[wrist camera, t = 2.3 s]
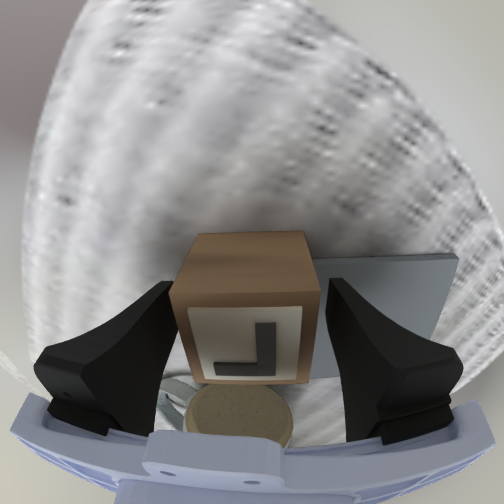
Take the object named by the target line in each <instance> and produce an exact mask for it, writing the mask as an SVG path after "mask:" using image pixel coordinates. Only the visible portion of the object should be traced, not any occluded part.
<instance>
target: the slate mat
mask: <svg viewBox="0 0 504 504" xmlns="http://www.w3.org/2000/svg"><path fill="white" fill-rule="evenodd" d="M312 262H313V265H314V268H315V272H316V275H317V278H318V282H319V285H320V289H321V296H320V305H319V314H318V322H317V330H316V337H315V345H314V352H313V358H312V365H311V371H310V377H309V379H315V378H328V377H338V376H340V373H339V369H338V365H337V361H336V358H335V354H334V351H333V348H332V344H331V341H330V337H329V334H328V329H327V323H326V316H325V309H326V302H327V294H328V285H329V278H343V279H344V280H345V281H346V282H348V283H349V284H350V285H351V286H352V287H353V288H354V289H355V290H356V291H357V292H358V293H359V294H360V295H361V296H362V297H363V298H364V299H366V300H367V301H368V302H369V303H370V304H371V305H373V306H374V307H375V308H376V309H377V310H379V311H380V312H381V313H383V314H384V315H385V316H387V317H388V318H390V319H391V320H393V321H394V322H396V323H397V324H399V325H400V326H402V327H404V328H406V329H407V330H409V331H411V332H413V333H415V334H417V335H419V336H421V337H423V338H426V339H428V340H430V338H431V335H432V333H433V331H434V329H435V326H436V324H437V322H438V319H439V317H440V314H441V312H442V309H443V306H444V304H445V301H446V298H447V296H448V293H449V290H450V287H451V284H452V281H453V278H454V275H455V272H456V268H457V265H458V262H459V258H458V257H457V256H456V255H455V254H437V255H411V256H384V257H353V258H321V259H312Z"/></svg>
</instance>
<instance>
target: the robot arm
mask: <svg viewBox="0 0 504 504" xmlns="http://www.w3.org/2000/svg"><path fill="white" fill-rule="evenodd" d="M173 283H174V282H173V281H161V282H159V283H158V284H156V285H155V286H154V287H153V288H151V289H150V290H149V291H148V292H146V293H145V294H144V295H143V296H142V297H140V298H139V299H138V300H137V301H135V302H134V303H133V304H131V305H130V306H129V307H127V308H126V309H125V310H123V311H122V312H121V313H119V314H118V315H117V316H115V317H114V318H112V319H110V320H109V321H107V322H106V323H104V324H102V325H100V326H98V327H97V328H95V329H93V330H91V331H89V332H87V333H85V334H82V335H80V336H78V337H75V338H73V339H70V340H67V341H64V342H61V343H58V344H54V345H51V346H47V347H45V349H44V350H43V352H42V353H41V355H40V356H39V358H38V360H37V361H36V363H35V364H34V371H35V374H36V376H37V378H38V379H39V380H40V382H41V383H42V384H43V386H44V387H45V388H46V390H47V391H48V392H49V393H50V394H51V395H52V397H53V399H52V401H51V403H50V402H49V401H48V400H47V399H45V398H43V397H40V396H38V395H36V394H33V393H29V395H28V397H27V398H26V400H25V402H24V403H23V405H22V407H21V409H20V411H19V413H18V415H17V417H16V418H15V420H14V422H13V424H12V426H11V429H10V432H11V433H12V434H13V435H14V436H15V437H17V439H19V440H20V441H21V442H22V443H24V444H25V445H26V446H27V447H28V448H30V449H31V450H32V451H33V452H35V453H36V454H37V455H39V456H40V457H41V458H43V459H45V460H47V461H48V462H50V463H52V464H55V465H56V466H58V467H60V468H62V469H64V470H66V471H68V472H70V473H72V474H74V475H76V476H78V477H80V478H82V479H84V480H86V481H88V482H91V483H93V484H95V485H98V486H100V487H102V488H105V489H107V490H110V491H113V492H115V493H117V494H116V498H115V502H114V504H376V503H379V502H383V501H386V500H390V499H393V498H396V497H399V496H402V495H405V494H407V493H410V492H413V491H415V490H418V489H421V488H423V487H425V486H428V485H430V484H433V483H435V482H437V481H440V480H442V479H444V478H446V477H448V476H451V475H453V474H455V473H457V472H459V471H461V470H463V469H465V468H466V467H468V466H469V465H470V464H471V463H473V462H475V461H476V460H477V459H479V458H480V457H481V456H482V455H484V454H485V453H486V452H488V451H489V450H490V449H491V448H492V447H494V446H495V444H496V442H495V439H494V437H493V434H492V432H491V429H490V427H489V425H488V422H487V420H486V417H485V415H484V413H483V410H482V408H481V406H480V404H479V402H478V400H477V399H473V400H471V401H469V402H466V403H463V404H461V405H458V406H457V407H455V408H454V409H452V410H451V409H450V406H449V404H450V403H451V398H450V395H449V393H450V392H451V390H452V389H453V388H454V386H455V385H456V383H457V382H458V380H459V379H460V377H461V375H462V372H463V364H462V362H461V360H460V358H459V357H458V355H457V353H456V351H455V350H454V348H451V347H448V346H445V345H442V344H439V343H435V342H433V341H430V340H428V339H426V338H423V337H421V336H419V335H417V334H415V333H413V332H411V331H409V330H407V329H406V328H404V327H402V326H400V325H399V324H397V323H396V322H394V321H393V320H391V319H390V318H388V317H387V316H385V315H384V314H383V313H381V312H380V311H379V310H377V309H376V308H375V307H374V306H373V305H371V304H370V303H369V302H368V301H367V300H366V299H364V298H363V297H362V296H361V295H360V294H359V293H358V292H357V291H356V290H355V289H354V288H353V287H352V286H351V285H350V284H349V283H348V282H346V281H345V280H344V279H343V278H329V285H328V294H327V302H326V309H325V316H326V323H327V329H328V334H329V337H330V341H331V344H332V348H333V351H334V354H335V358H336V361H337V365H338V369H339V373H340V378H341V385H342V392H343V401H344V410H345V423H346V443H340V444H332V445H323V446H313V447H300V448H282V446H281V445H280V444H279V443H278V442H275V441H272V440H269V439H266V438H258V437H249V436H225V435H211V434H200V433H191V432H183V431H175V430H157V431H155V432H154V422H155V414H156V407H157V401H158V395H159V389H160V385H161V380H162V376H163V372H164V369H165V366H166V363H167V360H168V358H169V355H170V352H171V349H172V347H173V344H174V341H175V338H176V335H177V333H178V326H177V323H176V319H175V315H174V312H173V308H172V304H171V300H170V296H169V291H170V289H171V287H172V285H173Z"/></svg>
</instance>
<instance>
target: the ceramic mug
mask: <svg viewBox="0 0 504 504" xmlns="http://www.w3.org/2000/svg"><path fill="white" fill-rule="evenodd" d="M166 394H169V395H170V396H172V397H174V398H176V399H178V400H179V401H181V402H183V403H184V404H186V405H187V410H186V412H185V415H184V416H183V415H182V414H181V413H179V412H178V411H177V410H176V409H175V408H174V407H173V406H172V404H171V403H170V402H169V401H168V399H167V398H166ZM156 411H157V412H158V413H159V415H160V416H161V417H162V418H163V419H164V420H165V421H166V422H167V423H168V424H169V425H170V426H171V427H172V428H173V429H174V430H176V431H183V432H191V433H200V434H211V435H225V436H249V437H258V438H266V439H269V440H272V441H275V442H278V443H279V444H280V445H281V446H282V448H288V446H289V444H290V441H291V437H292V430H293V420H292V415H291V412H290V409H289V407H288V406H287V404H286V402H285V401H284V400H283V399H282V398H281V396H280V395H279V394H278V393H276V392H275V391H274V390H272V389H271V388H269V387H267V386H265V385H238V384H211V383H210V384H208V385H206V386H205V387H203V388H202V389H200V390H199V391H198V390H196V389H194V388H193V387H192V386H190V385H188V384H186V383H184V382H181V381H179V380H176V379H173V378H165V379H163V380H162V381H161V385H160V389H159V395H158V401H157V407H156Z"/></svg>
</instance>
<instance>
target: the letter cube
mask: <svg viewBox="0 0 504 504" xmlns="http://www.w3.org/2000/svg"><path fill="white" fill-rule="evenodd" d="M169 296H170V300H171V304H172V308H173V312H174V315H175V319H176V323H177V326H178V330H179V333H180V337H181V340H182V343H183V347H184V350H185V353H186V356H187V360H188V363H189V366H190V369H191V372H192V375H193V378H194V381H195V383H211V384H238V385H272V384H299V383H309V377H310V371H311V365H312V358H313V352H314V345H315V337H316V330H317V322H318V314H319V305H320V296H321V289H320V285H319V282H318V278H317V275H316V272H315V268H314V265H313V262H312V258H311V255H310V252H309V249H308V245H307V242H306V239H305V236H304V233H303V231H266V232H233V233H205V234H198V236H197V238H196V239H195V241H194V243H193V245H192V247H191V249H190V251H189V253H188V255H187V257H186V259H185V261H184V263H183V265H182V267H181V269H180V271H179V273H178V275H177V277H176V279H175V281H174V283H173V285H172V287H171V289H170V291H169Z"/></svg>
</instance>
